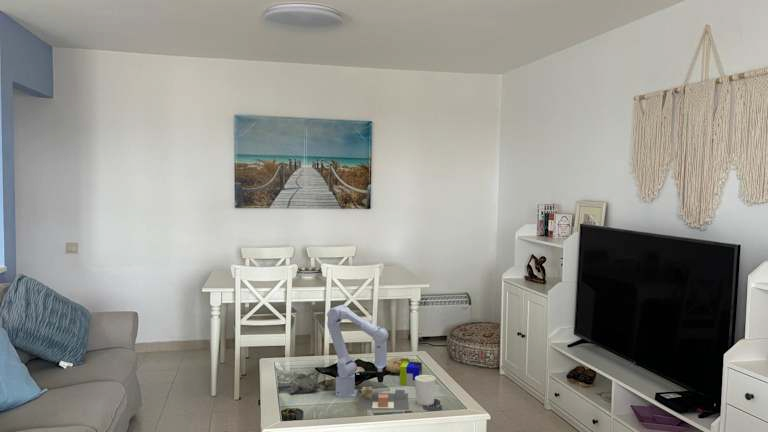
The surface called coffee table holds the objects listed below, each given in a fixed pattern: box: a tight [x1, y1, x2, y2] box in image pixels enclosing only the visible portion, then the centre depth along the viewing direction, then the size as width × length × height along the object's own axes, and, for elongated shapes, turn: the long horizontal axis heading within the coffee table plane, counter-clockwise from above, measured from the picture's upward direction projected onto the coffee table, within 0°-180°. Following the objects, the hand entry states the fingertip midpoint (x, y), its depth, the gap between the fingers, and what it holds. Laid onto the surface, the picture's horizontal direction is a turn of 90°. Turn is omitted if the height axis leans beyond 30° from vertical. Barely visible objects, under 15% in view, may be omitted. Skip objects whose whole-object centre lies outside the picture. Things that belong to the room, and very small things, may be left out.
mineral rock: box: [290, 372, 320, 395], centre depth 290 cm, size 13×11×10 cm
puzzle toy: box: [399, 361, 423, 387], centre depth 305 cm, size 10×10×10 cm
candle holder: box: [415, 374, 437, 406], centre depth 276 cm, size 10×10×12 cm
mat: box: [356, 392, 410, 411], centre depth 277 cm, size 24×22×1 cm
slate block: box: [394, 386, 406, 399], centre depth 282 cm, size 4×4×4 cm
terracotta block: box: [378, 394, 388, 407], centre depth 271 cm, size 4×4×4 cm
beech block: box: [361, 386, 373, 399], centre depth 282 cm, size 4×4×4 cm
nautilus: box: [386, 356, 416, 375], centre depth 323 cm, size 8×22×15 cm
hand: (380, 382), depth 280 cm, fingers closed
